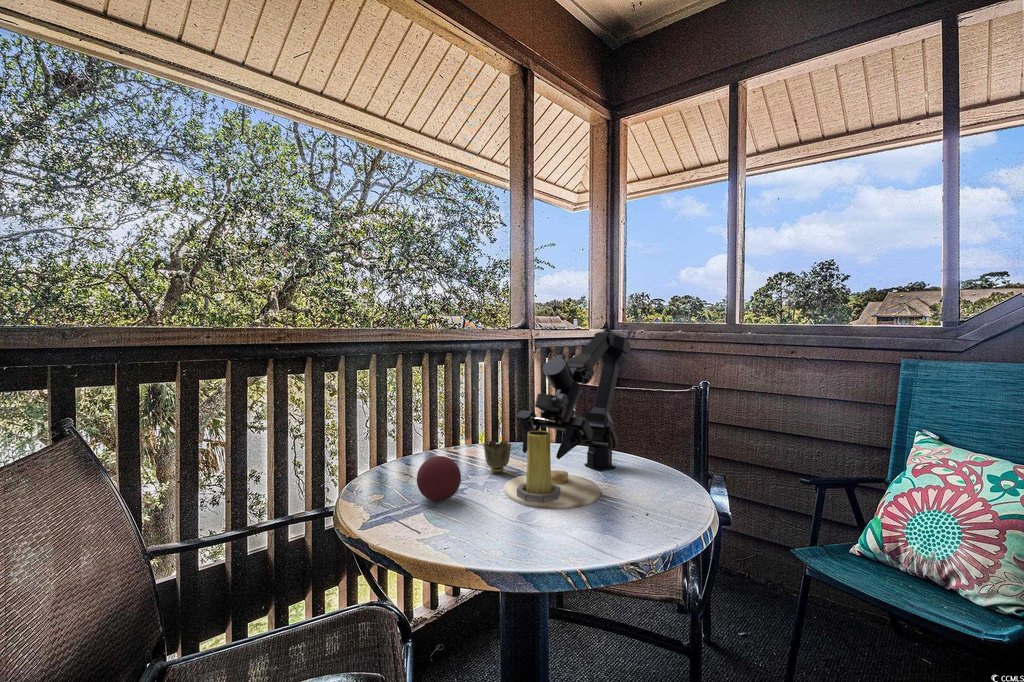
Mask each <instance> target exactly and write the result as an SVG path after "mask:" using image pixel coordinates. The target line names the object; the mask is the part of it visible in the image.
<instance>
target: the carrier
mask: <svg viewBox="0 0 1024 682" xmlns="http://www.w3.org/2000/svg"><path fill="white" fill-rule="evenodd" d="M526 482H527V474H523V475H519V476H516V477H513V478H512V479H509V480H508V481H507V482H506V483H505V484H504V494H505V495H506V497H507V498H508V499H510V500H512V501H514V502H515V503H519V504H522V505H525V506H527V507H528V506H529V507H532V508H533V507H534V508H541V509H551V510H552V509H555V510H559V509H560V510H561V509H562V510H563V509H573V508H574V507H575V508H580V507H584V506H588V505H591V504H593V503H595V502H596V501H598V500H599V499H600V498H599V497H601V487H600V485H599V484H597V483H596V482H594V481H593V480H591V479H588V478H585V477H583V476H579V475H573V474H569V473H568V472H567V471H565V470H562V469H561V470H558V469H557V470H551V488H552V493H547V494H532V493H527V492H526ZM598 498H599V499H598ZM597 499H598V500H597ZM594 501H595V502H594ZM590 503H591V504H590Z"/></svg>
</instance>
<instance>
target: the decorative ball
mask: <svg viewBox="0 0 1024 682" xmlns="http://www.w3.org/2000/svg"><path fill="white" fill-rule="evenodd" d="M461 481H462V475H461V471H460V467H459V465H458V464H457V463H456V462H455V460H453V459H451V458H449V456H448V457H447V456H446V455H436V456H432V457H430V458H428V459H426V460H425V461H424V462H422V464H421V465H420V467H419V469H418V470H417V473H416V485H417V489H418V490H419V492H420V493H421V495H422V496H423V497H424V498H426V499H427V500H429V501H432V502H443V501H444V502H445V501H447V500H448V499H451V498H452V497H453V496H454V495H455V494H456V493H457V492H458V489H460V485H461Z"/></svg>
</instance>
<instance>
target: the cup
mask: <svg viewBox="0 0 1024 682" xmlns="http://www.w3.org/2000/svg"><path fill="white" fill-rule="evenodd" d="M483 447H484V457H485V462H486V464H487V466H489V468H490V472H491V473H492V474H495V475H496V474H497V475H498V474H503V473H504V471H505V467H507V466H508V464H509V461H510V457H511V456H510V455H511V448H512V443H511V442H508V441H506V440H505V441H502V440H500V442H498V443H497V441H495V440H494V441H493V440H490V441H489V443H488V441H486V442H485V443H483Z"/></svg>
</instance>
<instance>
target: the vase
mask: <svg viewBox="0 0 1024 682" xmlns="http://www.w3.org/2000/svg"><path fill="white" fill-rule="evenodd" d="M526 455H527V458H526V461H527V465H526V466H527V469H526V475H527V482H526V492H527V493H532V494H547V493H552V488H551V471H552V465H551V464H552V463H551V462H552V461H551V432H550V431H548V430H539V431H530V432H528V436H527V452H526Z"/></svg>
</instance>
